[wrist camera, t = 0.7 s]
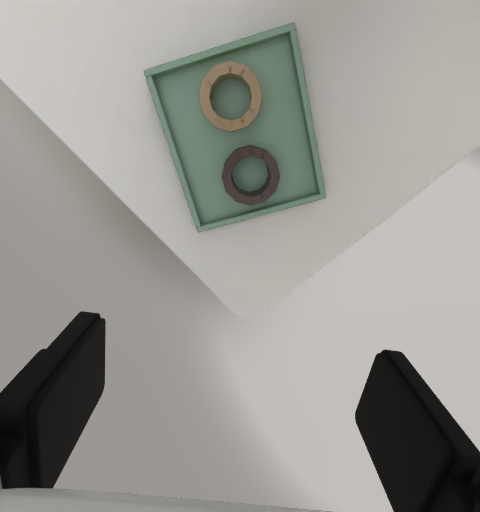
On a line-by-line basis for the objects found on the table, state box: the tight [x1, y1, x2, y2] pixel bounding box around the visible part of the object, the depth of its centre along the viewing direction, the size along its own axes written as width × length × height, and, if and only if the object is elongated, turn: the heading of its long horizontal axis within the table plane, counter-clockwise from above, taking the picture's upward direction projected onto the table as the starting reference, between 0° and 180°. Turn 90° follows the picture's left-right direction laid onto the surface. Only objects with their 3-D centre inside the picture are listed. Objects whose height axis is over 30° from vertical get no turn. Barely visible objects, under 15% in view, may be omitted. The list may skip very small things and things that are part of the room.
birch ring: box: [199, 61, 262, 132], centre depth 32 cm, size 6×6×3 cm
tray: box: [144, 22, 326, 232], centre depth 35 cm, size 17×15×2 cm
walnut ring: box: [222, 145, 280, 206], centre depth 35 cm, size 6×6×3 cm
